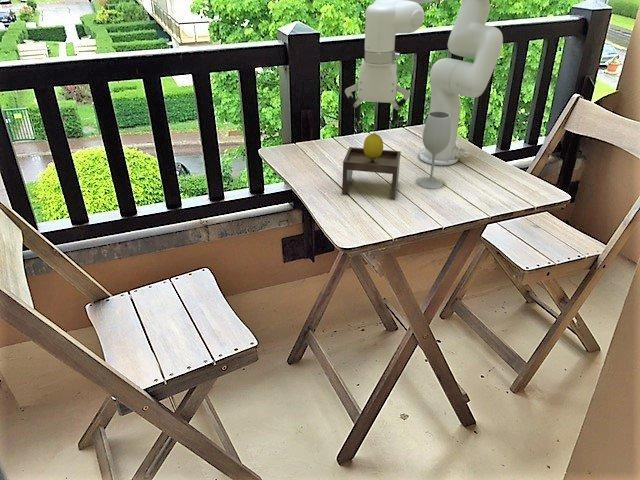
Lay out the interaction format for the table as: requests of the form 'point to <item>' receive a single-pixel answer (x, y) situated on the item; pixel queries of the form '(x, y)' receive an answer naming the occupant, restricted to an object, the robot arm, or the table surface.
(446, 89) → the robot arm
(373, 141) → the lemon
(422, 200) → the table surface
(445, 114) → the wineglass
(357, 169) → the shelf
